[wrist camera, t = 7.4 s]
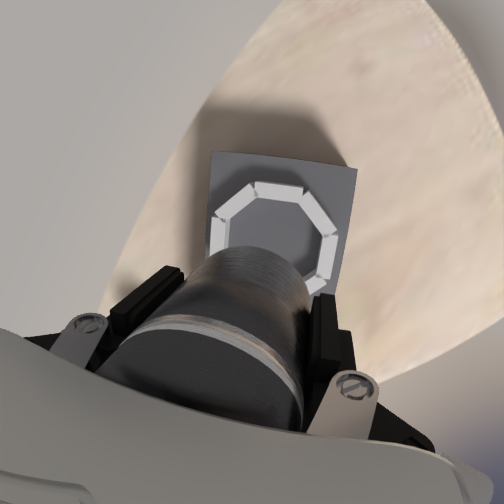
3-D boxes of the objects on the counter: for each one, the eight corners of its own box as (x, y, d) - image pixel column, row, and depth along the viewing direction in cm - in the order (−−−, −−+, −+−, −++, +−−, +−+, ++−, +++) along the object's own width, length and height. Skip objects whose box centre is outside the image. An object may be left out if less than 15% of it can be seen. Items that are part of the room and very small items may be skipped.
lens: (298, 363, 12) (276, 505, 6) (190, 341, 13) (113, 456, 7) (321, 256, 11) (326, 396, 4) (191, 236, 12) (66, 326, 5)
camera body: (316, 334, 28) (315, 376, 22) (218, 316, 30) (196, 353, 24) (348, 167, 23) (361, 169, 17) (230, 152, 25) (204, 150, 18)
